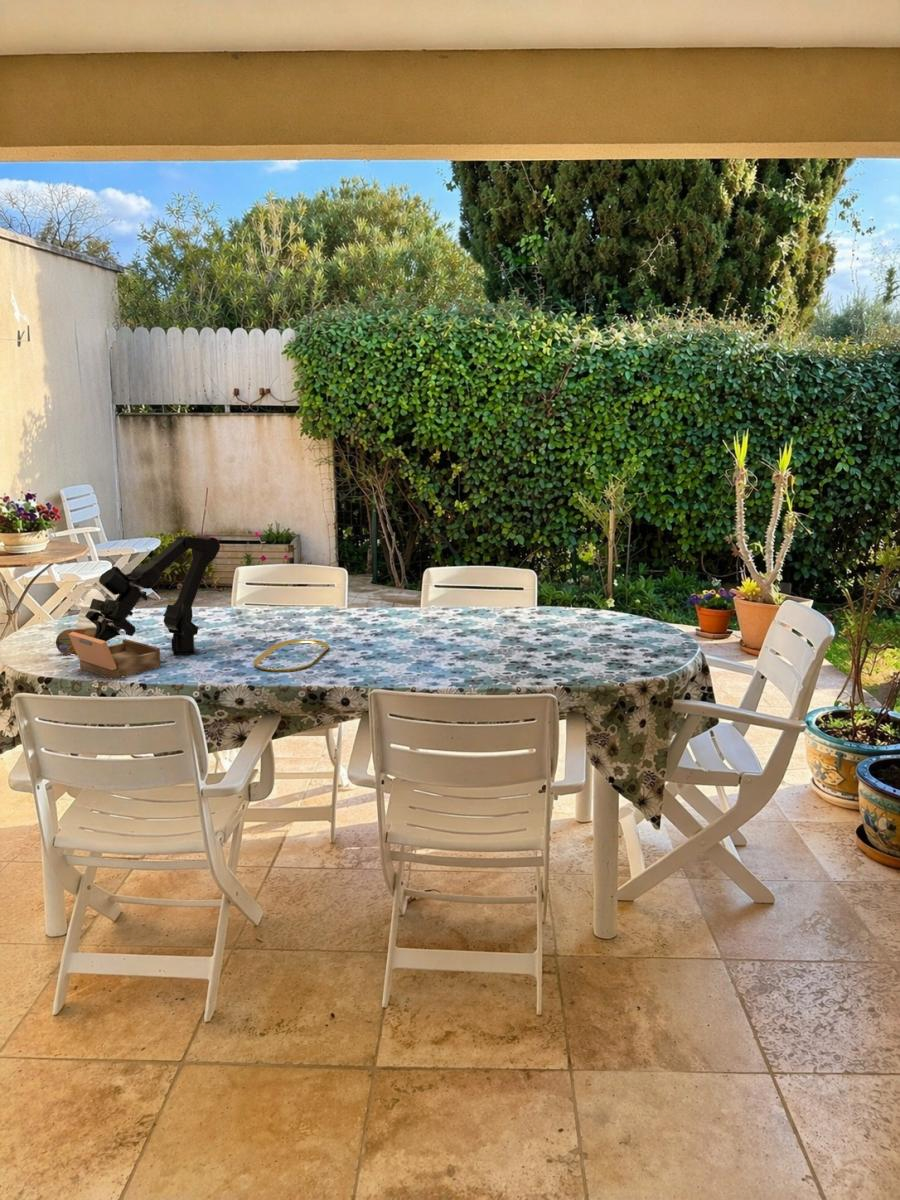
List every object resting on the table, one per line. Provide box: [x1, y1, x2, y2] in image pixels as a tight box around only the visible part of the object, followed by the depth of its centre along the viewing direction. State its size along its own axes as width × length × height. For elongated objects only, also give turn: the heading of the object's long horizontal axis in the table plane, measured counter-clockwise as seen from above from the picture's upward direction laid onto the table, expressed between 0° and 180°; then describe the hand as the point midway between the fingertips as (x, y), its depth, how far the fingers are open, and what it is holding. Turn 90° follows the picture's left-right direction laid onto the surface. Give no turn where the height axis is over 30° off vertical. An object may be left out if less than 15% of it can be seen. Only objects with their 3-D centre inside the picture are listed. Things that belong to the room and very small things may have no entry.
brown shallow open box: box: [79, 638, 162, 680], centre depth 278 cm, size 16×18×6 cm
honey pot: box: [76, 584, 107, 629], centre depth 314 cm, size 13×13×18 cm
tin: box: [55, 627, 97, 656], centre depth 293 cm, size 15×3×8 cm, turn 105°
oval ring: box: [252, 638, 330, 673], centre depth 291 cm, size 19×35×2 cm, turn 172°
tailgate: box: [68, 632, 117, 670], centre depth 270 cm, size 2×18×9 cm, turn 51°
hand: (93, 646), depth 270 cm, fingers closed, pressing on tailgate
